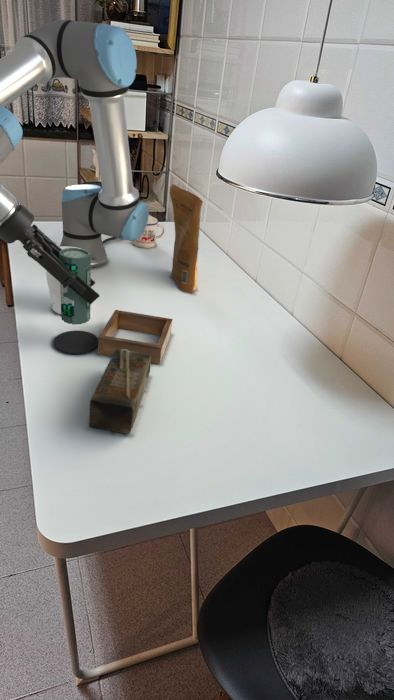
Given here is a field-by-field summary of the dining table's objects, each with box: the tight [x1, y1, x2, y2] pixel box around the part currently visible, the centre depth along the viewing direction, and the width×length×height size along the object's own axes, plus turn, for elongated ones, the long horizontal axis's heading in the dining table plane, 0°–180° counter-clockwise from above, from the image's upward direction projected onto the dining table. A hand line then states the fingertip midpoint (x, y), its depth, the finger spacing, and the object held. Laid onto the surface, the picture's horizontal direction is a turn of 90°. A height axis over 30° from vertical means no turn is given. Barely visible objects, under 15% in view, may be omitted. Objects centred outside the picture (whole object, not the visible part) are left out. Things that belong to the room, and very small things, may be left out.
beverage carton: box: [88, 349, 152, 435], centre depth 90 cm, size 8×19×7 cm, turn 174°
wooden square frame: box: [97, 309, 173, 365], centre depth 109 cm, size 14×14×4 cm
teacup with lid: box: [131, 214, 166, 249], centre depth 169 cm, size 12×9×12 cm
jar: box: [46, 246, 81, 315], centre depth 118 cm, size 11×10×15 cm
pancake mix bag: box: [169, 183, 203, 294], centre depth 138 cm, size 7×19×28 cm, turn 20°
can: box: [59, 248, 92, 325], centre depth 101 cm, size 6×6×15 cm
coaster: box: [53, 330, 98, 356], centre depth 108 cm, size 10×10×1 cm
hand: (92, 292), depth 102 cm, fingers closed on can, 6 cm apart
